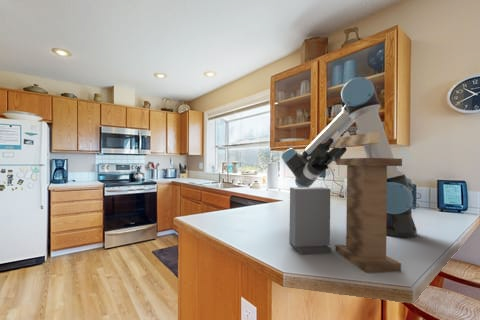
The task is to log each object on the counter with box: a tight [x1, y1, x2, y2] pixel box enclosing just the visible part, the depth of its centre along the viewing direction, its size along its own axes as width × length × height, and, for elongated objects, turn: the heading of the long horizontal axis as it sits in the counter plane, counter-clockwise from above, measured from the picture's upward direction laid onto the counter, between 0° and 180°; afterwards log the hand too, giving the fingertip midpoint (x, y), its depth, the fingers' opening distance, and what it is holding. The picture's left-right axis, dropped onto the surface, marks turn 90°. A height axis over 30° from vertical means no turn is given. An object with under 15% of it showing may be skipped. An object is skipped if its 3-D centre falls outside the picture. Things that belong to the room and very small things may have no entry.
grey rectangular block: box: [288, 186, 332, 255], centre depth 79 cm, size 10×12×20 cm
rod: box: [329, 132, 380, 149], centre depth 77 cm, size 22×3×3 cm, turn 9°
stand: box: [334, 157, 403, 274], centre depth 70 cm, size 15×10×30 cm, turn 9°
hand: (343, 134), depth 81 cm, fingers closed on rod, 3 cm apart
